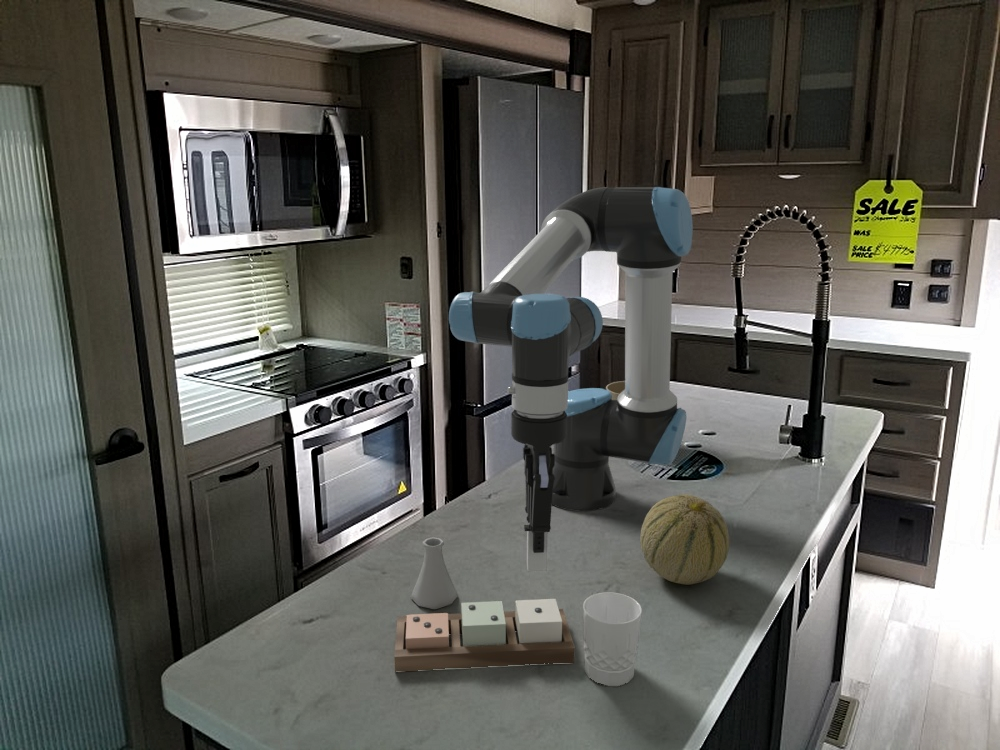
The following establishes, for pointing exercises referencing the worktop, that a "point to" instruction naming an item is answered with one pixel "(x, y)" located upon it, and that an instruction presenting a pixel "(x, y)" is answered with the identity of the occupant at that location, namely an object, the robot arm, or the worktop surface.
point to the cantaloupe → (684, 539)
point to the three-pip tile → (427, 631)
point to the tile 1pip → (538, 621)
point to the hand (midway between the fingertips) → (536, 568)
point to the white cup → (611, 637)
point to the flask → (434, 578)
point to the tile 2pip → (483, 623)
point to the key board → (481, 649)
